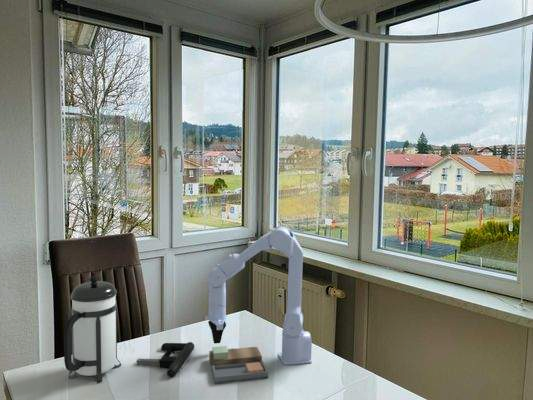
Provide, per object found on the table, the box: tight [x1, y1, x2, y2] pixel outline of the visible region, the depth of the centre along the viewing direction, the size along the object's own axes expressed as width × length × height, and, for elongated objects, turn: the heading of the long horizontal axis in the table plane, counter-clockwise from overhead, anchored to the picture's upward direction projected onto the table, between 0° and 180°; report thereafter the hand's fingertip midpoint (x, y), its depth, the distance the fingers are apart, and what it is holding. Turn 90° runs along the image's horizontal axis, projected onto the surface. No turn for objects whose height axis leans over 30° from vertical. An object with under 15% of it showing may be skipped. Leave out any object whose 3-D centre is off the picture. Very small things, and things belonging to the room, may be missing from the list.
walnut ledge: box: [208, 346, 263, 370], centre depth 132 cm, size 16×7×3 cm, turn 104°
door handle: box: [135, 341, 195, 378], centre depth 133 cm, size 3×20×16 cm
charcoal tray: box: [211, 359, 269, 385], centre depth 125 cm, size 16×8×2 cm, turn 104°
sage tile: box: [211, 345, 228, 360], centre depth 131 cm, size 4×4×2 cm
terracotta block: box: [246, 362, 263, 373], centre depth 125 cm, size 4×4×2 cm
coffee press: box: [63, 275, 122, 383], centre depth 122 cm, size 17×16×30 cm
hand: (216, 342), depth 139 cm, fingers closed
